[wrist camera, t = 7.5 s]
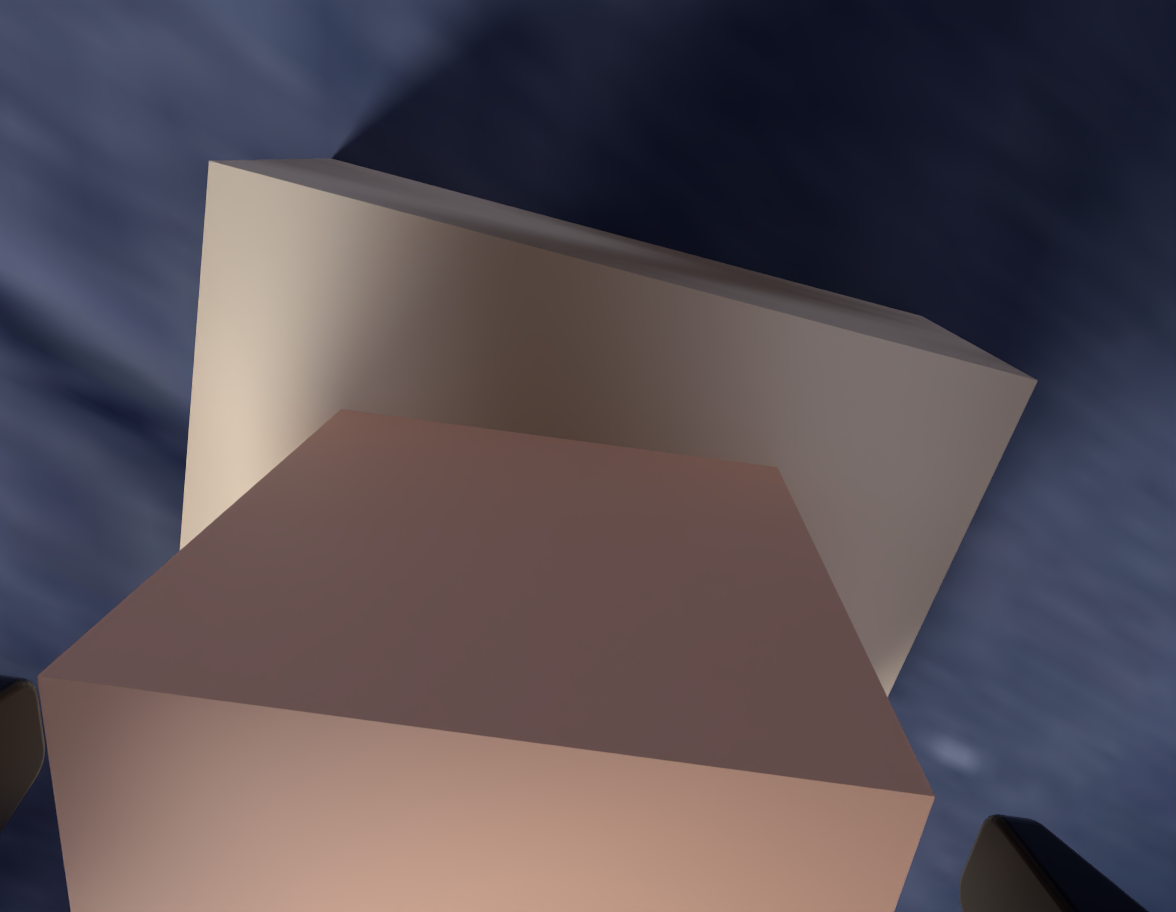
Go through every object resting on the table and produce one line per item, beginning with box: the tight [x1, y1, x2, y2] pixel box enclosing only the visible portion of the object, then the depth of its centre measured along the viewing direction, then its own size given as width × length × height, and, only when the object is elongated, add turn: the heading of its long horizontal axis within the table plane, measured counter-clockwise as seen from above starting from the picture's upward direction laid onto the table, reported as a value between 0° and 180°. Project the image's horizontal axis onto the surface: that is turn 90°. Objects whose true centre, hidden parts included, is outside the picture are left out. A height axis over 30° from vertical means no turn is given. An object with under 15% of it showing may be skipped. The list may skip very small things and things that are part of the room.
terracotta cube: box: [37, 409, 935, 912], centre depth 8 cm, size 5×5×5 cm
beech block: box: [180, 159, 1038, 697], centre depth 12 cm, size 9×9×4 cm
